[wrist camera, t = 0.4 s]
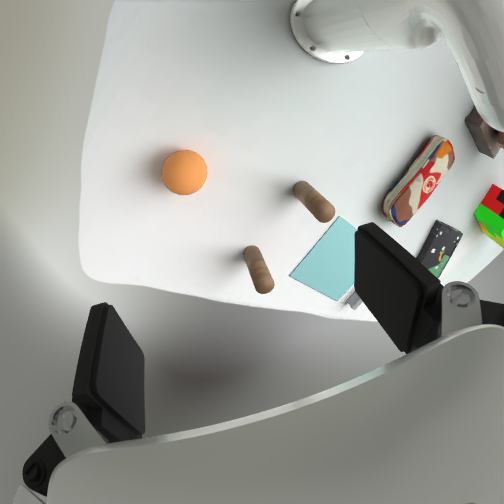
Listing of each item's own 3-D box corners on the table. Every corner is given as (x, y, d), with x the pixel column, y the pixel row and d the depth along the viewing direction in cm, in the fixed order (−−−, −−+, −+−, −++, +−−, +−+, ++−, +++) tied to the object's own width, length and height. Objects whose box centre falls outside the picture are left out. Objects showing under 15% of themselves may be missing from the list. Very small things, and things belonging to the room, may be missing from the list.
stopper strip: (384, 258, 58) (390, 265, 56) (387, 261, 59) (393, 267, 56) (346, 300, 62) (351, 308, 60) (349, 302, 62) (354, 309, 60)
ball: (178, 138, 38) (176, 146, 33) (213, 159, 41) (218, 171, 36) (155, 173, 40) (151, 187, 35) (190, 193, 43) (192, 209, 38)
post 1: (249, 243, 49) (263, 275, 42) (263, 250, 51) (278, 282, 43) (239, 255, 50) (251, 289, 43) (253, 262, 51) (266, 296, 44)
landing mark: (339, 215, 50) (340, 216, 50) (381, 250, 57) (382, 250, 56) (289, 275, 55) (289, 276, 54) (336, 300, 61) (337, 301, 61)
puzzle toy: (500, 204, 60) (526, 221, 51) (482, 232, 63) (507, 251, 55) (492, 183, 55) (521, 200, 47) (473, 213, 58) (501, 232, 50)
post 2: (300, 177, 45) (325, 199, 38) (313, 187, 46) (339, 210, 39) (289, 191, 46) (311, 216, 38) (302, 200, 47) (325, 226, 40)
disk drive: (433, 218, 57) (404, 274, 63) (441, 223, 54) (411, 281, 61) (456, 228, 60) (429, 278, 66) (463, 233, 58) (435, 285, 64)
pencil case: (450, 170, 50) (466, 179, 46) (386, 227, 54) (400, 239, 50) (435, 126, 45) (453, 132, 41) (364, 185, 48) (380, 196, 44)
